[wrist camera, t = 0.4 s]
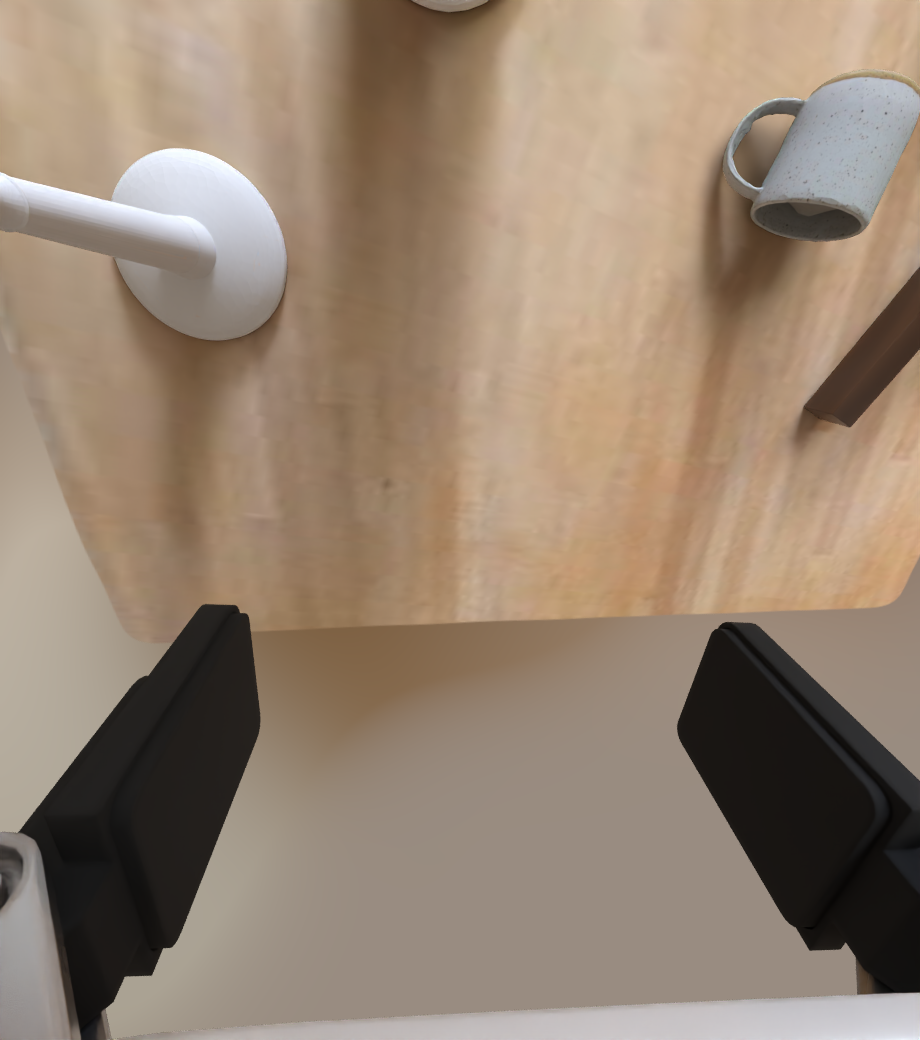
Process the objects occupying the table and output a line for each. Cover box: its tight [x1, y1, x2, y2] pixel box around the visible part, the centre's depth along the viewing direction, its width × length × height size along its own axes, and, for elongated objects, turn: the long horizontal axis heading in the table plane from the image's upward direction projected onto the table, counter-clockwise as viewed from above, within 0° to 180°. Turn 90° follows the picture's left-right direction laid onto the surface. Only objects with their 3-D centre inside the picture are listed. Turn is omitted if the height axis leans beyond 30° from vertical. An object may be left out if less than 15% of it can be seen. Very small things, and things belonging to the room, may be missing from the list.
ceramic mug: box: [723, 69, 920, 242], centre depth 33 cm, size 11×8×8 cm
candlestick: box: [0, 149, 287, 340], centre depth 23 cm, size 13×13×30 cm
